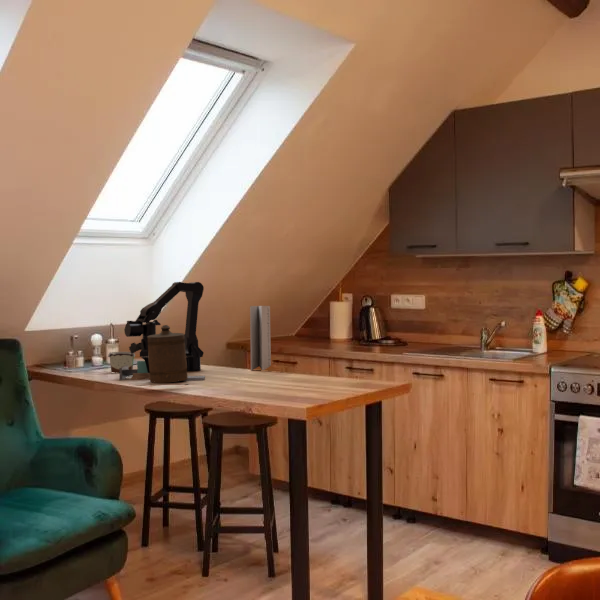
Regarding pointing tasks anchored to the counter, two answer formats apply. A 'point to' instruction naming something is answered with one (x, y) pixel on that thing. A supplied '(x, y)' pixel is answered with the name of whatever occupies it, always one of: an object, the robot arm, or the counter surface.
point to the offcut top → (141, 374)
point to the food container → (121, 360)
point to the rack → (126, 372)
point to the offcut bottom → (139, 378)
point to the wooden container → (167, 356)
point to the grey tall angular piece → (260, 337)
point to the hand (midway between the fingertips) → (149, 372)
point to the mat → (195, 378)
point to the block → (141, 367)
